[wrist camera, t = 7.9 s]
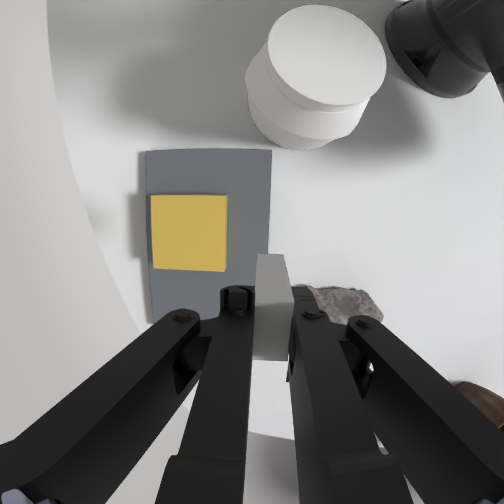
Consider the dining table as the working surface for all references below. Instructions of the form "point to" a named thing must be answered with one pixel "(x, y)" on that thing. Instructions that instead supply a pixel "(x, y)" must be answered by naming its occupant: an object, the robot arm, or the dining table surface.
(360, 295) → the stone
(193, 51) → the dining table surface
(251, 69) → the jar
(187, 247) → the yellow block
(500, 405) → the plant pot
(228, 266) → the slate board
